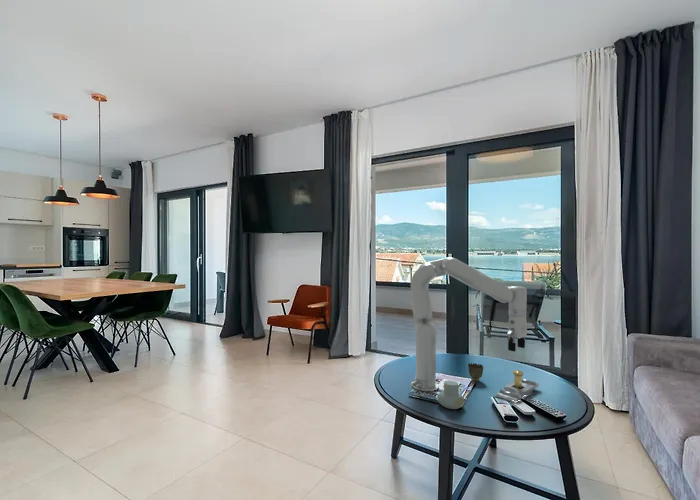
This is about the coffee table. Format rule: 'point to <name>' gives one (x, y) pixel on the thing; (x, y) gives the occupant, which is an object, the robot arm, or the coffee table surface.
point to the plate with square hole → (517, 390)
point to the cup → (475, 371)
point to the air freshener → (451, 396)
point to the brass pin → (518, 379)
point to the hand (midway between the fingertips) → (516, 349)
